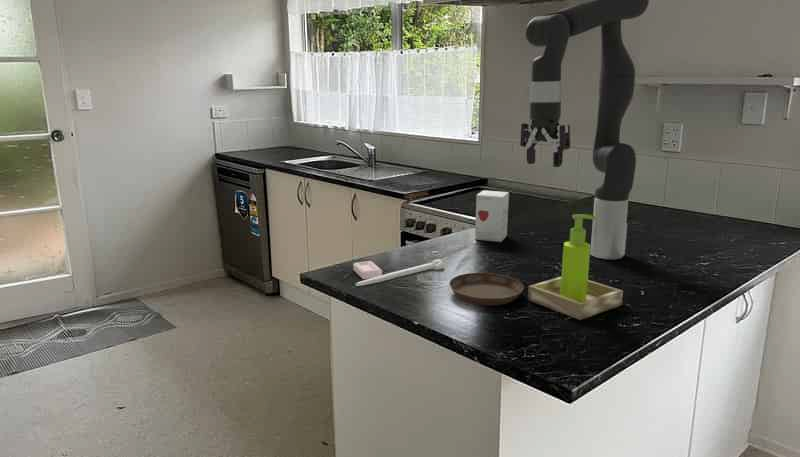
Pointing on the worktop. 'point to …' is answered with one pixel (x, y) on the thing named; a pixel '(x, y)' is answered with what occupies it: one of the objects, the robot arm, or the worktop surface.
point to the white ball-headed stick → (404, 272)
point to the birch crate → (595, 303)
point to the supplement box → (491, 215)
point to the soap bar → (367, 270)
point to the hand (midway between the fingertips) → (543, 165)
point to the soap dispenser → (576, 261)
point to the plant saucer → (486, 288)
